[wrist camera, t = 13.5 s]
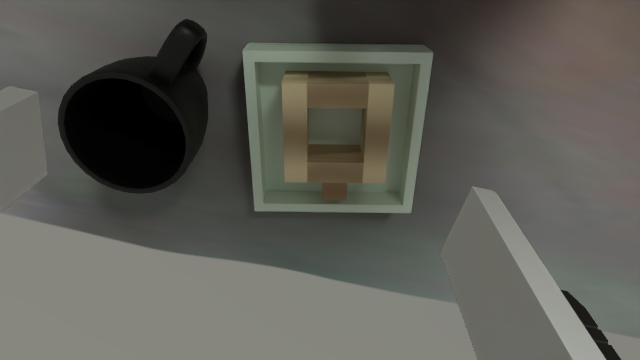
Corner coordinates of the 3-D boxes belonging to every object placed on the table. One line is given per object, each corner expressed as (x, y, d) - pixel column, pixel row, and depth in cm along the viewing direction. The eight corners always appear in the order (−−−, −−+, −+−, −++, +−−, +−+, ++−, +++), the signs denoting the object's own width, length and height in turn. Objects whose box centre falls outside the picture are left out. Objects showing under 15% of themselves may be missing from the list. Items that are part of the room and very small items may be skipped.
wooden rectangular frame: (285, 70, 32) (281, 83, 29) (387, 72, 32) (394, 84, 29) (288, 178, 37) (285, 199, 34) (378, 180, 37) (383, 200, 34)
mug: (270, 47, 32) (251, 80, 24) (191, 156, 37) (153, 215, 28) (177, -26, 30) (120, -19, 21) (105, 99, 34) (35, 146, 26)
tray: (248, 42, 32) (242, 50, 29) (424, 44, 32) (433, 52, 29) (259, 193, 39) (254, 211, 36) (405, 195, 39) (411, 213, 36)
